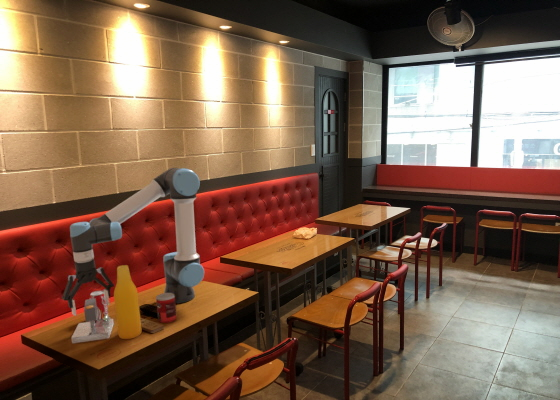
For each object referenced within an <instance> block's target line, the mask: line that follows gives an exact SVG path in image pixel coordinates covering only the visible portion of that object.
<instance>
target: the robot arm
mask: <svg viewBox="0 0 560 400" xmlns="http://www.w3.org/2000/svg"><path fill="white" fill-rule="evenodd" d="M200 184H201V182H200V177H199V176H198V175H197V173H196V172H195V171H193V170H191V169H189V168H182V167H170V168H169V169H167V170H165V171H163V172H161V173H160V174H159V175H157V176H155V177H154V178H153V179H152V180H151V182H150V183H149V184H148V185H146V186H144V187H143V188H142V189H140V190H139V191H137V192H135V193H134V194H133V195H131V196H129V197H128V198H127V199H125V200H123V201H122V202H121V203H119V204H117V205H116V206H114V207H113V208H111V209H110V210H108V211H107V212H105V213H104V214H103V215H101V216H98V217H96V218H95V217H94V218H92V219H91V220H89V222H88V221H79V222H78V221H77V222H75V223H72V224H71V225H70V226H69V232H70V235H69V236H70V242H71V247H72V255H73V261H74V268H75V274H72V275H70V274H68V275H67V281H66V282H67V283H66V285H65V288H64V291H63V295H62V297H61V298H62V300H63V301H64V302H65V301H67V303H68V308H70V309H71V313H72V315H73V317H75V316H77V309H76V303H75V299H74V297H75V296H76V294H77V293H78V291H79V289H80V288H81V286H82V285H83V284H87V283H92V282H93V281H95V282H96V283H97V284H99V285H101V286H102V288H104V289H103V291H104V296H105V304H107V306H110V297H111V289H112V288H113V287H114V286H115V284H114V283H113V281H112V280H111V279H110V278H109V276H108V275H107V273H106V272H105V269H104V267H101V266H99V267H98V268H97V269H96V262H95V259H94V258H95V254H94V246H93V245H97V244H101V243H107V242H112V241H113V242H114V241H117V240H120V239H122V237H123V231H122V230H123V229H122V225H121V224H122V223H124V222H126V221H127V220H128V219H130V218H131V217H133V216H135V214H137V213H138V212H140V211H142V210H143V209H144V208H146V207H149V205H151V204H152V203H153V202H155V201H156V200H158V199H159V198H165V197H166V196H168V195H169V197H170V200H171V201H172V202H173V204H174V205H173V207H174V208H173V209H174V221H175V223H174V224H175V237H176V239H175V240H176V251H174V252H170V253H166V254H164V255H163V257H162V259H163V261H162V262H163V270H164V278H165V279H164V280H165V287H164V292H163V293H173V294H174V296H175V304H182V303H186V302H190V301H192V300H193V299H194V298H196V297H195V296H196V295H195V293H196V292H195V289H194V287H195V286H198V285H199V284H200V283H201V282H202V281H203V279H204V278H205V277H204V276H205V269H204V267H203V265H202V264H201V258H200V254H199V253H197V247H196V246H197V244H196V232H195V231H196V228H195V227H196V226H195V211H194V210H195V208H194V207H195V206H194V201H195V200H196V199H197V192H198V190H199V189H200V186H201V185H200ZM97 274H100V275H101V276H102V278H103V279H104V281H105V282H106V283H105V282H104V281H103V280H101V279H100V278H98V277H97ZM75 279H77V280H76V281H75ZM74 281H75V283H74ZM73 284H74V286H73ZM114 288H115V287H114Z"/></svg>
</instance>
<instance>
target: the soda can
mask: <svg viewBox="0 0 560 400" xmlns="http://www.w3.org/2000/svg"><path fill="white" fill-rule="evenodd" d="M94 298H96V305H97V317H96V320H95V321H100V320H103V318H104V316H105V315H106V314H108V315H109V308H108V305H107V304H105V296H104V290H96V291H92V292H91V293H90V296H89V299H94Z"/></svg>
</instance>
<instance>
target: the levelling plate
mask: <svg viewBox="0 0 560 400" xmlns="http://www.w3.org/2000/svg"><path fill="white" fill-rule="evenodd" d="M114 324H115V323H114V318H111V316H109V313H108V314H106V315H105V316H104V318H103V320H99V321H96V320H95V327H94V328H91V326H90V321H87V322H86V321H85V322H78V324H77V326H76V328H75V330H74V332H73V333H72V335H71V344H78V343H84V342H93V341H100V340H107V339H110V336H111V333H112V330H113V327H114Z"/></svg>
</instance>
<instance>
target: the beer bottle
mask: <svg viewBox="0 0 560 400" xmlns="http://www.w3.org/2000/svg"><path fill="white" fill-rule="evenodd" d="M138 294H139V293H138V289H137V286H136V285H135V283H134V282H133V280H132V277H131V273H130V268H129V265H127V264H124V265H123V264H122V265H118V266H117V268H116V284H115V287H114V291H113V299H114V300H113V301H114V307H115V308H114V309H115V316H116V317H115V318H116V323H117V324H116V325H117V334H118V337H119V338H120V339H122V340H130V339H135V338H137V337H139V336H140V335H141V334H142V329H143V328H142V322H141V313H140V303H139V295H138Z"/></svg>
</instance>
